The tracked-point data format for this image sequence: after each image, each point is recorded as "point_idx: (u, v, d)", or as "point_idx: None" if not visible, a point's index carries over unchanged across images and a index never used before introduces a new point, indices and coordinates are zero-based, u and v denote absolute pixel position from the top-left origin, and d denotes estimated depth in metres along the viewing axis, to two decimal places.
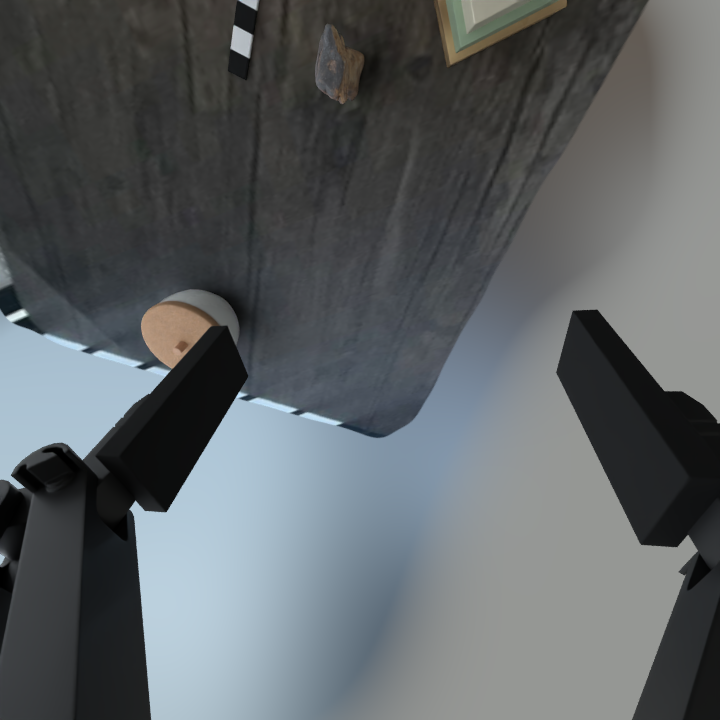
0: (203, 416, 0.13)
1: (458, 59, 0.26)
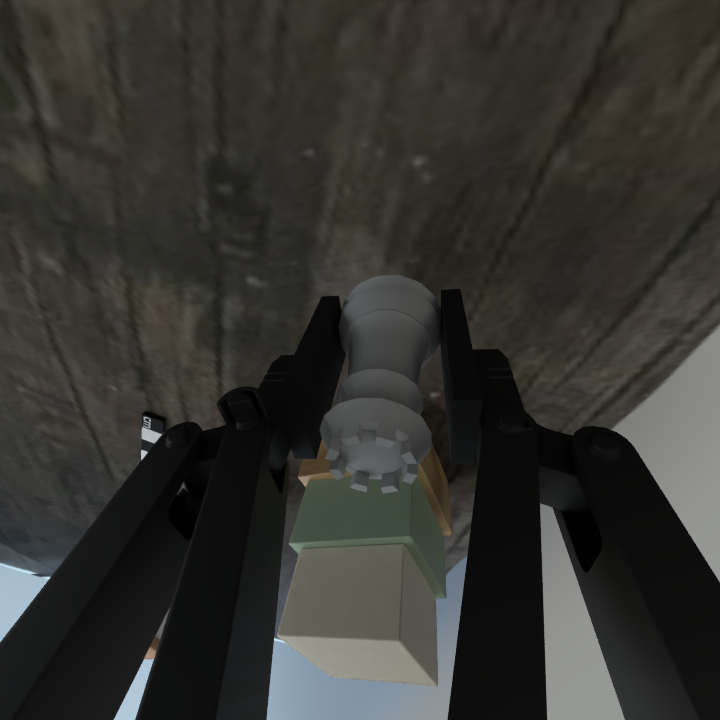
0: (330, 377, 0.13)
1: None
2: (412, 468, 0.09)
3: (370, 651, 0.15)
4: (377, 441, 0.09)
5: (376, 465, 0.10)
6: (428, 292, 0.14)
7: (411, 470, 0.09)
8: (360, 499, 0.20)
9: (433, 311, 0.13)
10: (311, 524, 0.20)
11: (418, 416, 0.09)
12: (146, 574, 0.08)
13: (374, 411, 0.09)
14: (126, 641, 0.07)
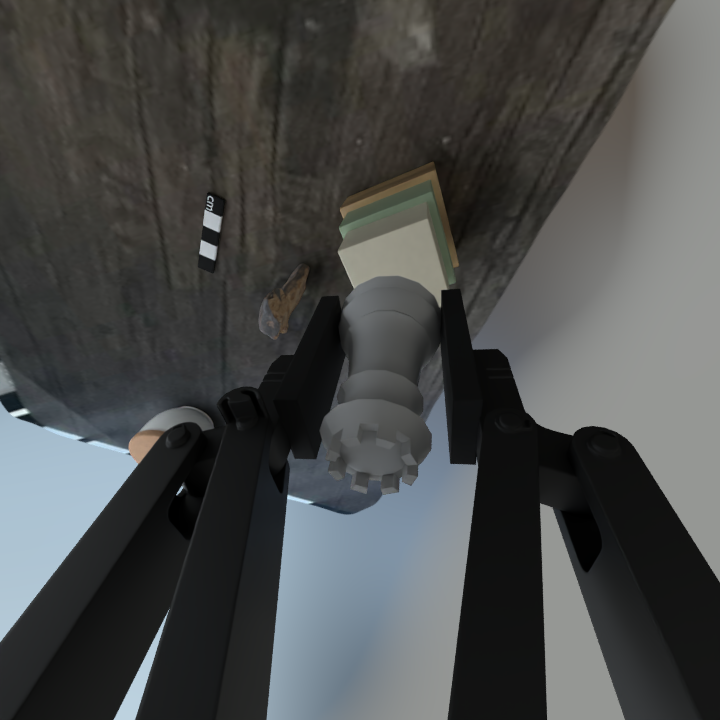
0: (330, 377, 0.13)
1: None
2: (412, 469, 0.09)
3: (405, 248, 0.22)
4: (377, 442, 0.09)
5: (376, 467, 0.10)
6: (428, 293, 0.14)
7: (411, 471, 0.09)
8: (391, 199, 0.26)
9: (433, 312, 0.13)
10: (354, 217, 0.26)
11: (418, 417, 0.09)
12: (146, 574, 0.08)
13: (374, 412, 0.09)
14: (126, 641, 0.07)
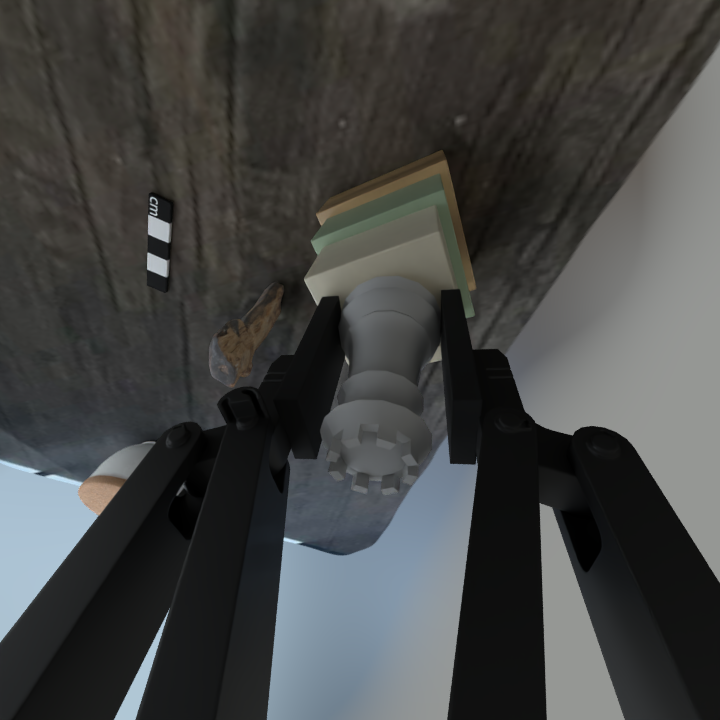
0: (330, 377, 0.13)
1: None
2: (413, 470, 0.09)
3: (404, 276, 0.14)
4: (377, 443, 0.09)
5: (377, 467, 0.10)
6: (428, 293, 0.14)
7: (412, 472, 0.09)
8: (385, 201, 0.19)
9: (433, 312, 0.13)
10: (333, 227, 0.18)
11: (418, 418, 0.09)
12: (146, 574, 0.08)
13: (374, 413, 0.09)
14: (126, 641, 0.07)
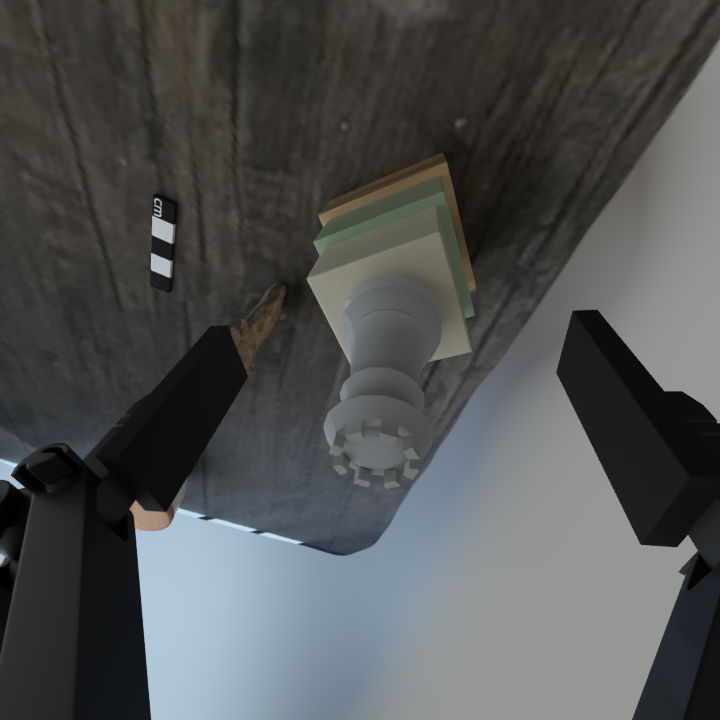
0: (204, 416, 0.13)
1: None
2: (414, 464, 0.10)
3: (405, 275, 0.15)
4: (379, 437, 0.09)
5: (379, 461, 0.10)
6: (428, 292, 0.14)
7: (413, 466, 0.10)
8: (386, 202, 0.19)
9: (433, 311, 0.14)
10: (335, 227, 0.19)
11: (420, 413, 0.10)
12: None
13: (377, 408, 0.09)
14: None
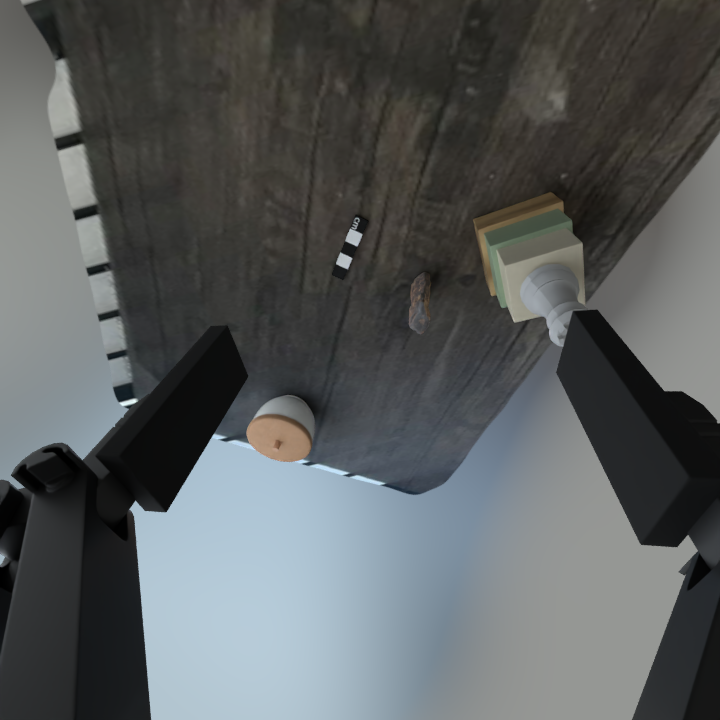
0: (204, 416, 0.13)
1: (496, 294, 0.40)
2: None
3: None
4: None
5: None
6: (572, 272, 0.29)
7: None
8: (529, 224, 0.33)
9: (577, 281, 0.28)
10: (500, 238, 0.33)
11: None
12: None
13: None
14: None
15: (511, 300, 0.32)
